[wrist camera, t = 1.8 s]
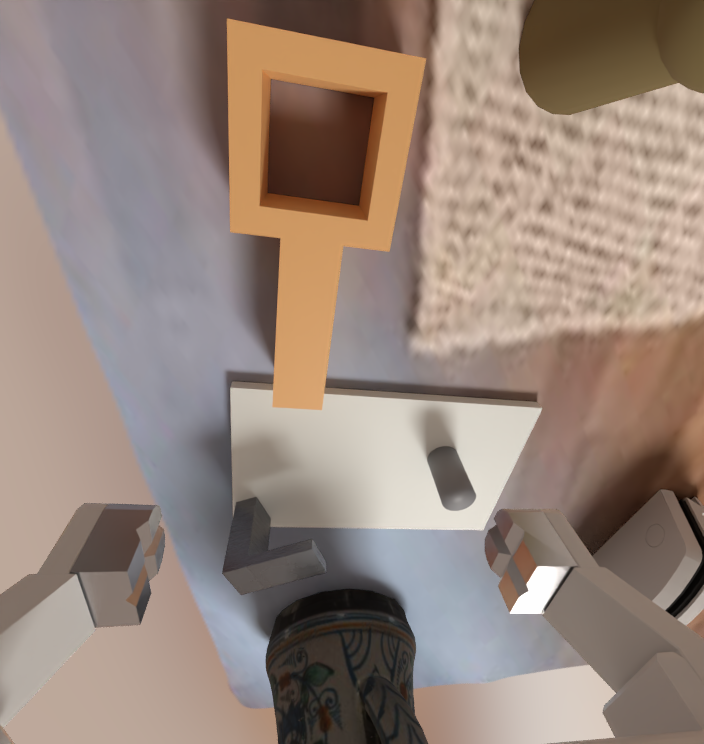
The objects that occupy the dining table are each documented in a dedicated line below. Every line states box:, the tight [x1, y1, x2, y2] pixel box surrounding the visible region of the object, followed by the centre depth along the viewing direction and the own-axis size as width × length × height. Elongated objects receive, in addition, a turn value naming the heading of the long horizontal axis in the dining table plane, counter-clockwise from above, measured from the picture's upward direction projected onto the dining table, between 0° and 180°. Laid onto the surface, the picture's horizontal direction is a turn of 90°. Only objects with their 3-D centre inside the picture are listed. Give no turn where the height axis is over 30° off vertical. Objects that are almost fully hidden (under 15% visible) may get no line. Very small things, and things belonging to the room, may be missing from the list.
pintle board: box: [230, 381, 542, 530], centre depth 31 cm, size 14×23×5 cm, turn 82°
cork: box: [519, 0, 704, 115], centre depth 14 cm, size 6×6×11 cm
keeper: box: [222, 497, 327, 595], centre depth 31 cm, size 7×3×7 cm, turn 107°
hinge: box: [592, 489, 704, 625], centre depth 39 cm, size 17×5×10 cm, turn 161°
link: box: [227, 19, 426, 410], centre depth 21 cm, size 18×8×4 cm, turn 172°
